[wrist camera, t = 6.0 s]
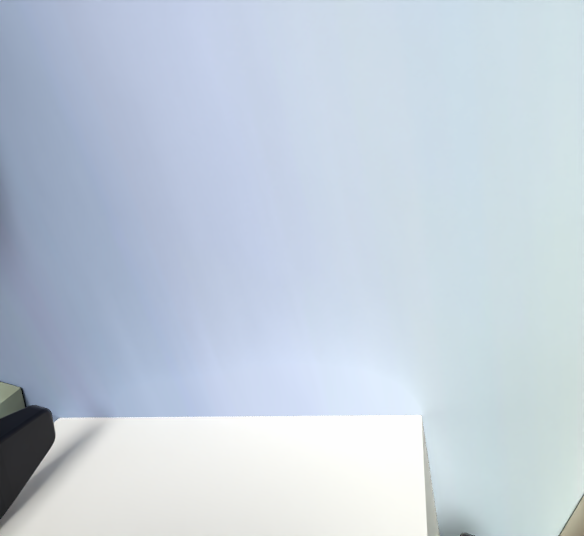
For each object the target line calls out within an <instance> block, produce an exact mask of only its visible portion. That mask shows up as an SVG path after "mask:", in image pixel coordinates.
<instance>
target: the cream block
mask: <svg viewBox="0 0 584 536" xmlns="http://www.w3.org/2000/svg"><path fill="white" fill-rule="evenodd" d="M54 428H55V433H56V437H55V441H54V443H53V445H52V447H51V448H50V450H49V451H48V453H47V454H46V456H45V457H44V459H43V460H42V462H41V463H40V465H39V466H38V467H37V469H36V470H35V472H34V473H33V475H32V476H31V478H30V479H29V481H28V482H27V483H26V485H25V486H24V488H23V489H22V491H21V492H20V494H19V495H18V497H17V498H16V499H15V501H14V502H13V504H12V505H11V506H10V508H9V509H8V511H7V512H6V513H5V514H4V516H3V517H2V518H1V520H0V536H440V534H439V528H438V521H437V515H436V508H435V501H434V495H433V488H432V481H431V475H430V468H429V461H428V455H427V448H426V442H425V435H424V428H423V422H422V415H373V416H243V417H113V418H59V419H58V420H56V421H55V422H54Z"/></svg>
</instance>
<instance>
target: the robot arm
mask: <svg viewBox="0 0 584 536" xmlns="http://www.w3.org/2000/svg"><path fill="white" fill-rule="evenodd" d="M55 437H56V433H55V428H54V423H53V417H52V413H51V411H50V410H49V409H47V408H44V407H40V406H37V405H31V406H28V407H25V408H23V409H21V410H19V411H16V412H14V413H12V414H9V415H7V416H5V417H2V418H0V520H1V518H2V517H3V516H4V514H5V513H6V512H7V511H8V509H9V508H10V506H11V505H12V504H13V502H14V501H15V499H16V498H17V497H18V495H19V494H20V492H21V491H22V489H23V488H24V486H25V485H26V483H27V482H28V481H29V479H30V478H31V476H32V475H33V473H34V472H35V470H36V469H37V467H38V466H39V465H40V463H41V462H42V460H43V459H44V457H45V456H46V454H47V453H48V451H49V450H50V448H51V447H52V445H53V443H54V441H55ZM460 536H475V535H471V534H468V533H462V534H460Z"/></svg>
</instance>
